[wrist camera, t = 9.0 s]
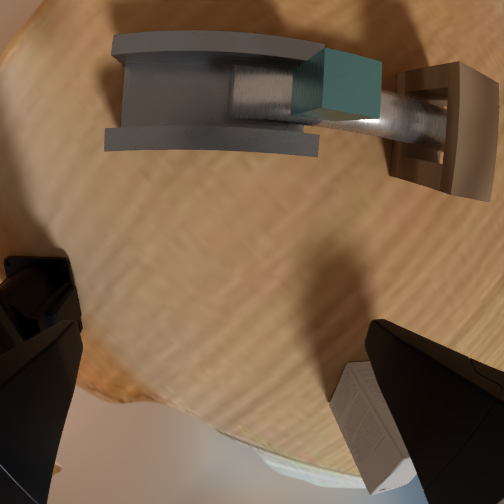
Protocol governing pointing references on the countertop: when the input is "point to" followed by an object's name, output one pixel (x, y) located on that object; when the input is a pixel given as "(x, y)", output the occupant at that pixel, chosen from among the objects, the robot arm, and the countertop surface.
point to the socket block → (453, 131)
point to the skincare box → (370, 430)
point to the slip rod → (336, 99)
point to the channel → (201, 92)
